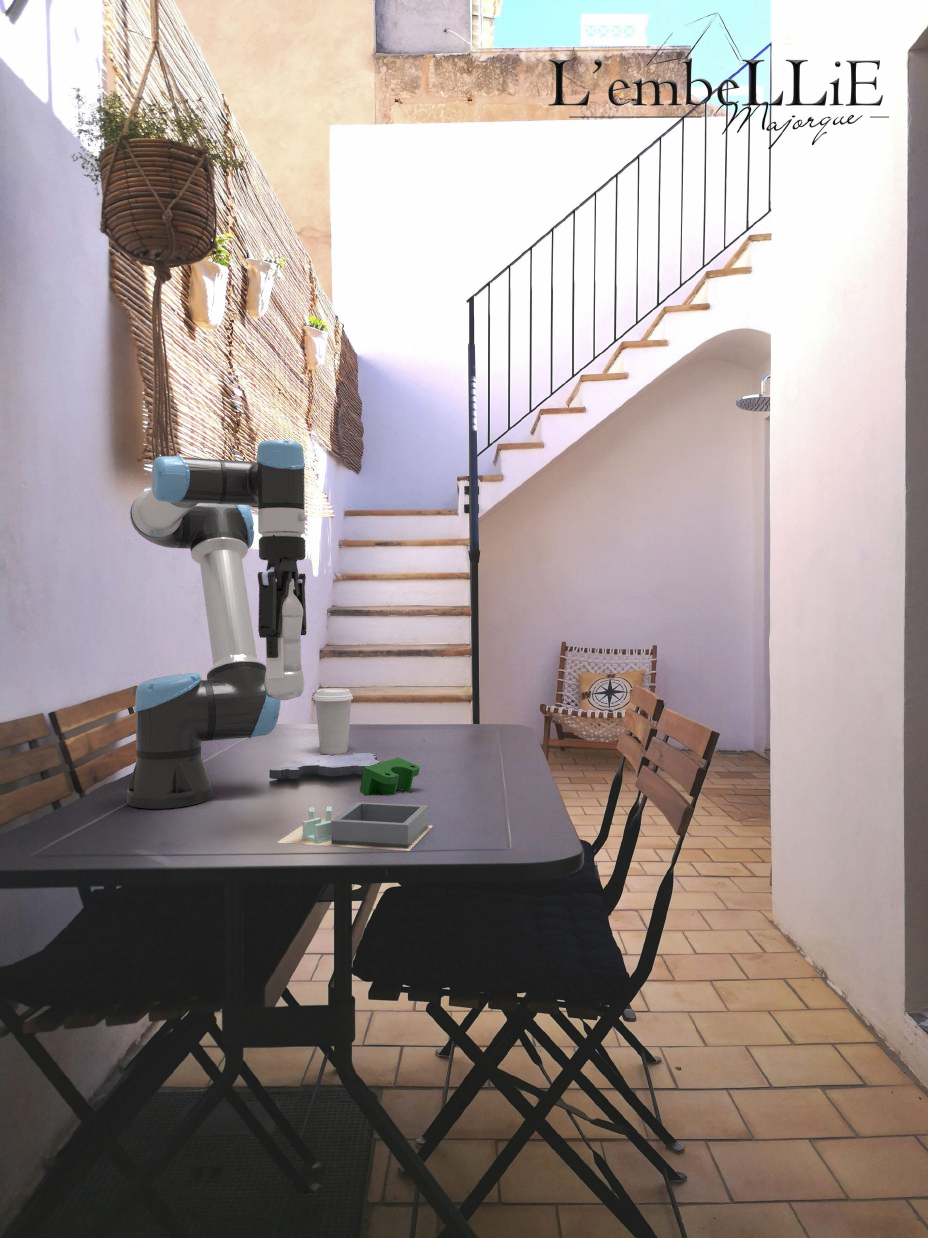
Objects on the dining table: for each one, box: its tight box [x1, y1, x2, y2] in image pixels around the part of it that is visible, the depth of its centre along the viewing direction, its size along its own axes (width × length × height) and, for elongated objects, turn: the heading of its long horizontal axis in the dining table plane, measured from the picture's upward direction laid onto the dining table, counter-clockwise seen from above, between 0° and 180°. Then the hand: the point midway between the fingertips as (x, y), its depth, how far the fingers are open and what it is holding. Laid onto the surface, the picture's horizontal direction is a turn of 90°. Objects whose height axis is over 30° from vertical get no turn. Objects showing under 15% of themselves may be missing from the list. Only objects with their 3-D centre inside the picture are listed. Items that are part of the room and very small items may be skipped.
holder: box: [331, 801, 429, 848], centre depth 138 cm, size 12×12×4 cm
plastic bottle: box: [264, 579, 305, 701], centre depth 146 cm, size 6×7×20 cm
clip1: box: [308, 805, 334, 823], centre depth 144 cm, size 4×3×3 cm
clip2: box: [302, 817, 332, 844], centre depth 136 cm, size 4×3×3 cm
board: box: [276, 824, 433, 852], centre depth 139 cm, size 21×14×1 cm, turn 78°
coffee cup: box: [313, 687, 354, 755], centre depth 214 cm, size 10×10×15 cm
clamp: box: [359, 757, 421, 796], centre depth 171 cm, size 12×6×9 cm, turn 142°
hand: (284, 676), depth 146 cm, fingers closed on plastic bottle, 6 cm apart
